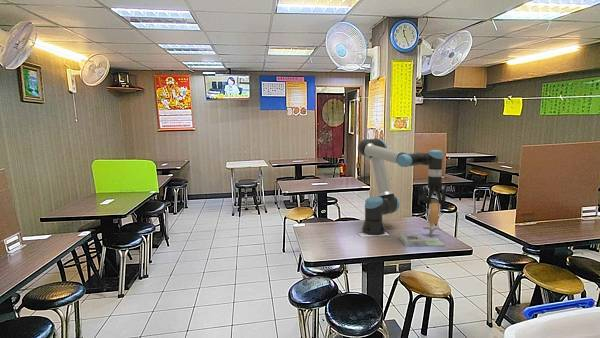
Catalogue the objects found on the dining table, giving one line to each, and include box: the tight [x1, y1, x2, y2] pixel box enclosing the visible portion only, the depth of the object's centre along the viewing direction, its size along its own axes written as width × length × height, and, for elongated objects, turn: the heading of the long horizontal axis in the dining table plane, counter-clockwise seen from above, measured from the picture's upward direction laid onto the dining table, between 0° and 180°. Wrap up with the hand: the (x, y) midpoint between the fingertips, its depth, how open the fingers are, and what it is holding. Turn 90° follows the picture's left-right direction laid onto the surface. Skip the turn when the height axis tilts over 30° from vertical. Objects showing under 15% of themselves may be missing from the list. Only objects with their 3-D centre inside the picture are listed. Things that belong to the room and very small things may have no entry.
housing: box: [399, 233, 427, 247], centre depth 193 cm, size 12×12×3 cm
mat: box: [423, 238, 446, 247], centre depth 192 cm, size 11×10×1 cm
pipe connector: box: [422, 223, 441, 237], centre depth 205 cm, size 10×10×10 cm
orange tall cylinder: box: [428, 198, 439, 225], centre depth 189 cm, size 5×5×14 cm
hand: (433, 213), depth 190 cm, fingers closed on orange tall cylinder, 5 cm apart
